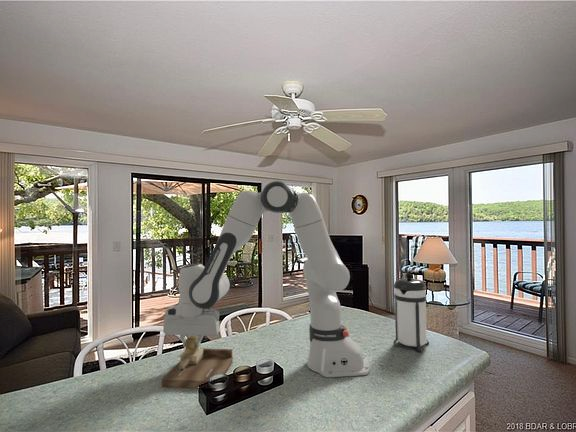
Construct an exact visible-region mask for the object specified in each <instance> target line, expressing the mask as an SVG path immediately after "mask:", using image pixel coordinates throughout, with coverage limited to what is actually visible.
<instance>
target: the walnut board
mask: <svg viewBox="0 0 576 432" xmlns="http://www.w3.org/2000/svg"><path fill="white" fill-rule="evenodd" d="M199 348H200V349H203V358H202V359H201V360H200V361H199V362H198V363H197V364H188V365H187V366H186V367H185V368H184V369H183V371H181V369H179V365H180V361H178V362H177V363H176V364H175V365H174V366H173V368H171V369H170V371H168V372H167V373H166V374H165V375H164V377H162V378H161V388H175V389H176V388H178V389H198V387H199V385H201V384H204V383H206V382H208V380H209V378H210V377H212V376H214V375H218V374H225V375H226V374H227V372H228V371H229V370H230V367H231V366H232V364H233V349H232V348H231V349H230V348H201V347H199ZM185 350H186V348H184V351H185ZM198 390H199V389H198Z"/></svg>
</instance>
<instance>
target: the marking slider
mask: <svg viewBox="0 0 576 432" xmlns="http://www.w3.org/2000/svg"><path fill="white" fill-rule="evenodd" d="M198 340H199V338H198V335H189V337H187V338H186V340H185V342H186V347H185V349H186V350H185V349H184V351H183V352H182V353H181V354H180V356H179V357H180V358H179V359H180V360H179V362H180V365H179V369H181V371H183V369H184V368H185V367H186V366H187V365H188V364H197V363H198V362H199V361H200V360H201V359H202V358H203V349H204V348H202V349H200V348H201V347H195V342H196V341H198Z"/></svg>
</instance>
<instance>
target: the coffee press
mask: <svg viewBox="0 0 576 432" xmlns="http://www.w3.org/2000/svg"><path fill="white" fill-rule="evenodd" d="M412 277H413V275H412V273H410V272H408V273H407V274H406V277H405V278H399V279H396V280H395V282H394V283H393V285H392V286H393V288H394V293H393V299H394V310H395V311H394V316H395V317H394V319H395V320H394V321H395V324H394V325H395V339H394V340H393V342H392V344H393V346H395V347H398V346H399V345H400V344H402V345H404V346H407V347H414V348H415V351H416V352H417V353H422V351H423V350H422V348H421V347H422V346H425V345H426V346H428V345H430V342H429V340H428V338H427V336H428V332H427V303H426V302H427V295H426V290H427V286H426V285H425V282H424V281H422V280H420V279H418V278H412Z"/></svg>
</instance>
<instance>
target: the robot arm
mask: <svg viewBox="0 0 576 432" xmlns="http://www.w3.org/2000/svg"><path fill="white" fill-rule="evenodd" d="M266 212H271V213H276V214H278V213H280V214H281V213H288V214H289V215H290V218H291V221H292V222H293V223H292V224H293V227H294V230H295V234H296V236H297V239H298V242H299V245H300V248H301V250H302V251H303V253H304V254H305V257H306V260H305V262H304V263H303V267H302V270H303V271H302V272H303V274H304V277H305V283H306V284H305V285H306V289H307V293H308V298H309V300H308V301H309V308H310V309H309V311H310V313H309V314H310V324H309V328H308V331H309V333H308V337H309V341H310V344H309V350H308V351H309V352H308V358H307V362H306V365H307V367H308V368H309V369H310V370H312V371H313V372H316V373H318V374H319V375H321V376H323V378H338V377H354V376H367V375H369V373H370V372H371V364H370V361H369V360H368V358H367V357H366V356H364V354H363V350H362V348H361V346H360V345H359V344H358V343H357V342H356V341H355V340H353V339H352V338H350V337H349V334H350V333H349V331H348V330H347V327H346V326H345V325H344V324H343V325H342V319H341V318H342V317H341V314H342V313H341V311H342V310H341V303H340V299H339V297H338V295H337V292H341V291H343V290H345V289H346V288H347V286H348V285H349V282H350V279H351V275H350V270H349V269H348V267H346V265H345V264H344V263H343V261H342V260H341V258H340V255H339V253H338V251H337V249H336V248H335V246H334V244H333V242H332V240H331V237H330V234H329V232H328V228H327V225H326V223H325V219H324V216H323V213H322V211H321V207H320V206H319V204H318V202H317V200H316V198H315V197H314V195H313V194H311V193H309V192H300V193H297V192H296V191H295V190H293V188H291V186H289V185H288V184H287V183H285V182H283V181H280V180H274V181H271V182H269V183H268V184H266V185H265V186H264V188H263V189H262V190H261V191H260V192H256V191H253V190H249V189H248V190H243V191H241V192H240V193H239V194H238V196H237V197H236V198H235V200H234V202H233V203H232V205H231V208H230V209H229V212H228V214H227V216H226V219H225V222H224V224H223V226H222V230H221V232H220V234H219V236H218V239H217V242H216V244H215V245H214V248H213V250H212V252H211V254H210V256H209V258H208V259H207V262H206V264H205V265H203V264H202V263H200V262H199V263H197V262H195V263H191V264H188V265H184V266H182V267H181V269H179V270H180V271H179V275H178V292H179V299H178V303H176V304H173V305H171V306H169V307H168V308H166V309H165V311H164V313H165V317H164V318H163V326H162V327H163V328H162V331H163V333H164V334H165V335H167V336H168V335H169V336H171V335H173V336H174V335H175V336H179V338H180V340H181V342H182V347H183V348H186V342H185V340H186V339H187V338H186V336H198V341H196V342H195V347H198V348H201V342H202V340H203V338H204V336H208V337H215V336H217V335H218V334H219V332H220V329H221V327H220V312H219V311H218V310H217V309H216V308H212V307H213V306H214V305H215V304H216V303H217V302H218V301H220V299H222V298H223V297H225V296H226V294H227V293H229V291H230V287H231V282H230V280H229V277H228V276H227V275H226V274H225V270H226V268H227V267H228V264H229V262H230V260H231V258H232V257H233V255H234V254H236V253H237V252H238V251H239V250H240V249H241V248H243V246H245V245H246V244H247V243H248V242H249V241H250V240H251V238H252V237H253V234H254V233H255V231H256V229H257V226H258V224H259V222H260V219H261V217H262V215H263V214H264V213H266Z"/></svg>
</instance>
